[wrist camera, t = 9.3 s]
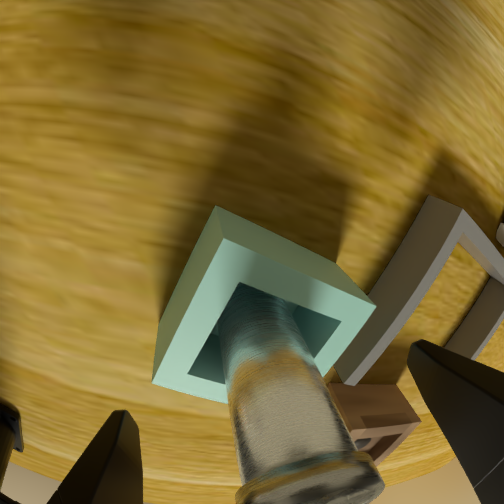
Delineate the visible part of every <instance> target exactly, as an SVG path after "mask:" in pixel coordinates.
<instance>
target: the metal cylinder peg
mask: <svg viewBox="0 0 504 504" xmlns="http://www.w3.org/2000/svg"><path fill="white" fill-rule="evenodd" d="M217 324H218V333H219V341H220V348H221V356H222V363H223V371H224V378H225V385H226V392H227V399H228V405H229V412H230V418H231V425H232V431H233V437H234V443H235V449H236V455H237V461H238V466H239V472H240V478H241V483H242V487H241V488H240V489H239V490H238V491H237V492H236V495H235V500H236V504H369V503H370V502H371V501H373V500H374V499H375V498H377V496H379V495H380V494H381V493H382V491H383V490H384V488H385V484H384V482H383V480H382V478H381V476H380V474H379V472H378V470H377V468H376V466H375V464H374V462H373V460H372V458H371V456H370V455H369V454H367V453H365V452H361V451H358V449H357V447H356V445H355V443H354V441H353V439H352V437H351V435H350V433H349V431H348V429H347V427H346V425H345V423H344V420H343V418H342V416H341V414H340V412H339V410H338V408H337V406H336V404H335V402H334V400H333V398H332V396H331V394H330V392H329V390H328V388H327V386H326V384H325V381H324V379H323V377H322V375H321V373H320V371H319V369H318V367H317V365H316V363H315V361H314V359H313V357H312V355H311V353H310V351H309V349H308V347H307V345H306V343H305V341H304V339H303V337H302V335H301V333H300V331H299V329H298V327H297V325H296V323H295V321H294V318H293V316H292V314H291V312H290V310H289V308H288V306H287V304H286V302H285V300H284V299H282V298H279V297H277V296H274V295H272V294H269V293H267V292H264V291H261V290H259V289H256V288H254V287H251V286H249V285H246V284H244V283H241V282H239V283H238V285H237V287H236V288H235V290H234V292H233V294H232V296H231V297H230V299H229V301H228V303H227V304H226V306H225V308H224V310H223V311H222V313H221V315H220V317H219V319H218V320H217Z"/></svg>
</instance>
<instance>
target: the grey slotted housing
mask: <svg viewBox="0 0 504 504" xmlns="http://www.w3.org/2000/svg"><path fill="white" fill-rule="evenodd" d="M496 239H497V240H498V242H499V243H500V244H501V245H502V246H503V247H504V223H500V226H499V228H498V230H497V233H496Z"/></svg>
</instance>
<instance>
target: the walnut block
mask: <svg viewBox="0 0 504 504" xmlns="http://www.w3.org/2000/svg"><path fill="white" fill-rule="evenodd" d="M327 388H328V390H329V392H330V394H331V396H332V398H333V400H334V402H335V404H336V406H337V408H338V410H339V412H340V414H341V416H342V418H343V420H344V423H345V425H346V427H347V429H348V431H349V433H350V435H351V437H352V439H353V441H354V443H355V445H356V447H357V449H358V451H361V452H365V453H367V454H369V455H370V456H371V458H372V460H373V462H374V464H375V466H378V465H379V464H380V463H381V462H382V461H383V460H384V459H385V458H386V457H387V456H388V455H390V454H391V453H392V452H393V451H394V450H395V449H396V448H397V447H398V446H399V445H400V444H401V443H402V442H403V441H404V440H405V439H406V438H407V437H408V436H409V435H410V434H411V432H412V431H413V430H414V429H415V428H416V427H417V426H418V425H419V424H420V423H421V422H422V421H421V420H420V418H419V417H418V416H417V414H416V413H415V411H414V410H413V408H412V407H411V405H410V404H409V402H408V401H407V400H406V398H405V397H404V395H403V394H402V392H401V391H400V389H399V388H398V387H397V385H396V384H356V385H355V386H352V385H347V384H343V383H329V384H328V385H327Z"/></svg>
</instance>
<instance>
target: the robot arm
mask: <svg viewBox="0 0 504 504" xmlns="http://www.w3.org/2000/svg"><path fill="white" fill-rule="evenodd" d="M407 365H408V368H409V370H410V372H411V374H412V376H413V378H414V380H415V383H416V385H417V387H418V389H419V391H420V393H421V395H422V397H423V399H424V401H425V403H426V405H427V407H428V408H429V410H430V412H431V413H432V415H433V417H434V418H435V420H436V422H437V423H438V425H439V427H440V429H441V430H442V432H443V434H444V435H445V437H446V439H447V441H448V442H449V444H450V446H451V448H452V449H453V451H454V453H455V455H456V457H457V458H458V460H459V461H460V464H461V466H462V467H463V469H464V471H465V473H466V475H467V477H468V479H469V481H470V483H471V484H472V486H473V488H474V491H475V492H476V494H477V496H478V498H479V500H480V502H481V504H504V372H501V371H499V370H496V369H494V368H491V367H489V366H486V365H484V364H482V363H479V362H477V361H474V360H472V359H469V358H467V357H465V356H462V355H460V354H457V353H455V352H453V351H450V350H448V349H445V348H443V347H441V346H438V345H436V344H433V343H431V342H429V341H426V340H423V339H421V340H418V341H416V342H414V343H412V344H411V347H410V351H409V355H408V359H407ZM13 449H15V450H17V451H19V452H23V449H24V445H23V438H22V430H21V420H20V416H19V415H18V414H17V413H15V412H14V411H12V410H10V409H8V408H6V407H5V406H3V405H1V404H0V491H1V487H2V483H3V480H4V476H5V472H6V469H7V466H8V462H9V459H10V456H11V453H12V450H13ZM0 504H20V503H19V502H17V501H14V500H12V499H11V498H9V497H7V496H6V495H4V494H3V493H1V492H0ZM47 504H143V469H142V459H141V449H140V438H139V429H138V426H137V424H136V422H135V421H134V419H133V418H132V416H131V415H130V413H129V412H128V411H127V410H115V411H113V412H112V413H111V415H110V416H109V418H108V419H107V420H106V422H105V423H104V424H103V426H102V427H101V429H100V430H99V431H98V433H97V434H96V435H95V437H94V438H93V440H92V441H91V442H90V444H89V445H88V446H87V448H86V449H85V451H84V452H83V453H82V455H81V456H80V458H79V459H78V460H77V462H76V463H75V465H74V466H73V467H72V469H71V470H70V472H69V473H68V474H67V476H66V477H65V479H64V480H63V481H62V483H61V484H60V486H59V487H58V490H56V491H55V493H54V494H53V495H52V497H51V498H50V500H49V501H48V502H47Z"/></svg>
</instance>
